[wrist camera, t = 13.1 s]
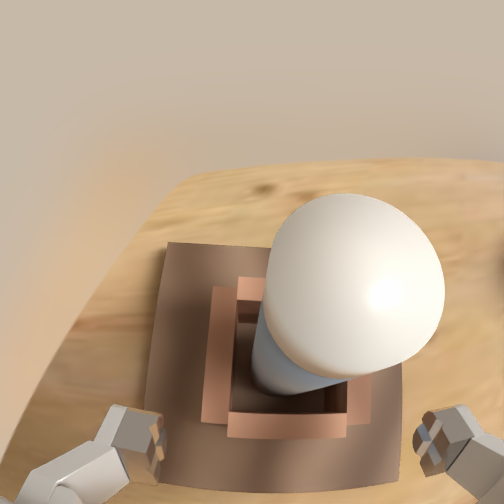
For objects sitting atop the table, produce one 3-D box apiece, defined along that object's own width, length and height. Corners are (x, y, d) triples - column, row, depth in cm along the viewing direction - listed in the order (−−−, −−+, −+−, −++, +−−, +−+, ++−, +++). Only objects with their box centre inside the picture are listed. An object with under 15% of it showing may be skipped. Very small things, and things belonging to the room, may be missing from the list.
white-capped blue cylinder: (247, 395, 17) (264, 369, 5) (251, 337, 19) (270, 186, 6) (308, 397, 17) (454, 362, 5) (309, 340, 19) (425, 203, 6)
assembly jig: (146, 473, 16) (111, 494, 10) (172, 252, 23) (152, 204, 18) (388, 477, 16) (434, 494, 10) (383, 264, 23) (418, 223, 18)
